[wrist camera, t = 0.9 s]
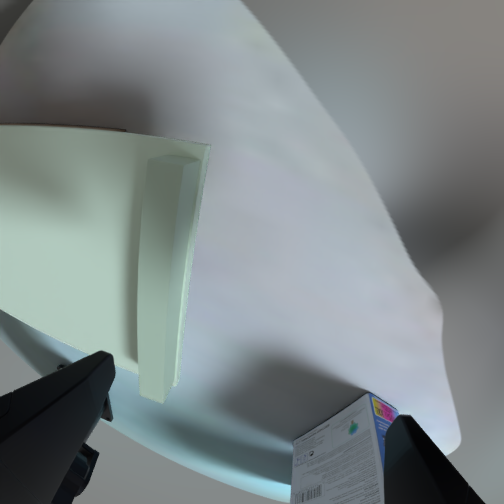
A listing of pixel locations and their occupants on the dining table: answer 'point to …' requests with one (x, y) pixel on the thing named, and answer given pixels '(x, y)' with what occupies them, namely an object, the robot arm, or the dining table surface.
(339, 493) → the ink cartridge box
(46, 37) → the dining table surface
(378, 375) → the dining table surface
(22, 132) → the lid
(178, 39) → the dining table surface
